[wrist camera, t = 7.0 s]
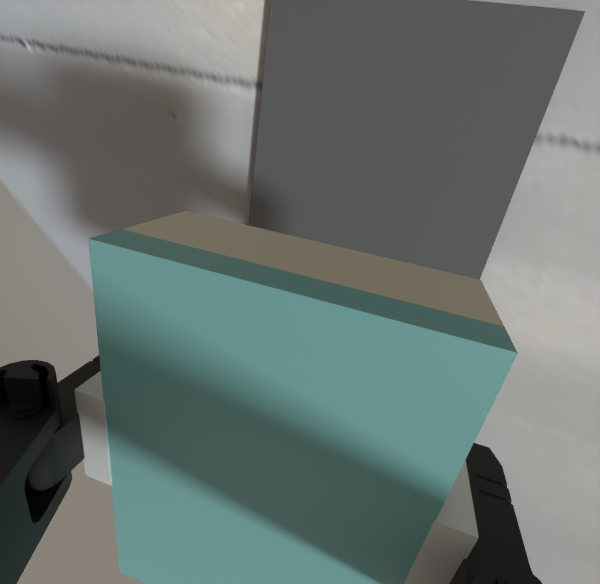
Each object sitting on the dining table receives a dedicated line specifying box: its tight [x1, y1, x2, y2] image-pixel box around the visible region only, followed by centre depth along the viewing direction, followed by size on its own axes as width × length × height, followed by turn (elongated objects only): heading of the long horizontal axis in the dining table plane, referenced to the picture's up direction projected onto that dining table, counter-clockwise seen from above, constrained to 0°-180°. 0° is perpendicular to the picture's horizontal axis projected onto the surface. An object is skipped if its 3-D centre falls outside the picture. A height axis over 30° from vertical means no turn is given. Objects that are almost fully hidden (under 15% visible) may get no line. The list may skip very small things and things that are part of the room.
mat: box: [249, 0, 585, 279], centre depth 20 cm, size 24×13×1 cm, turn 171°
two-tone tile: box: [89, 211, 517, 584], centre depth 9 cm, size 10×7×3 cm
